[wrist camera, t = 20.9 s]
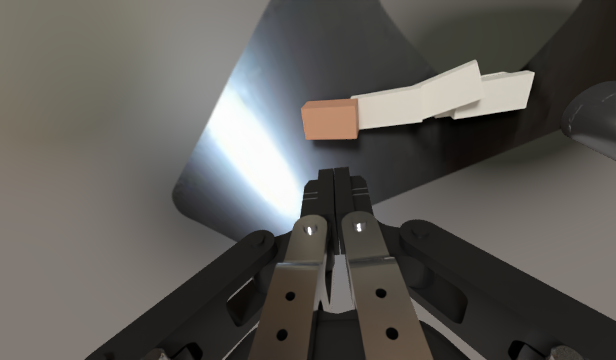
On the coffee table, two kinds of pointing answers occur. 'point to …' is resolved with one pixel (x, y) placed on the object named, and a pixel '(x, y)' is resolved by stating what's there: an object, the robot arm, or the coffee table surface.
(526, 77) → the domino
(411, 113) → the domino
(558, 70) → the coffee table surface
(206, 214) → the coffee table surface
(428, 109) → the domino
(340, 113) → the domino
